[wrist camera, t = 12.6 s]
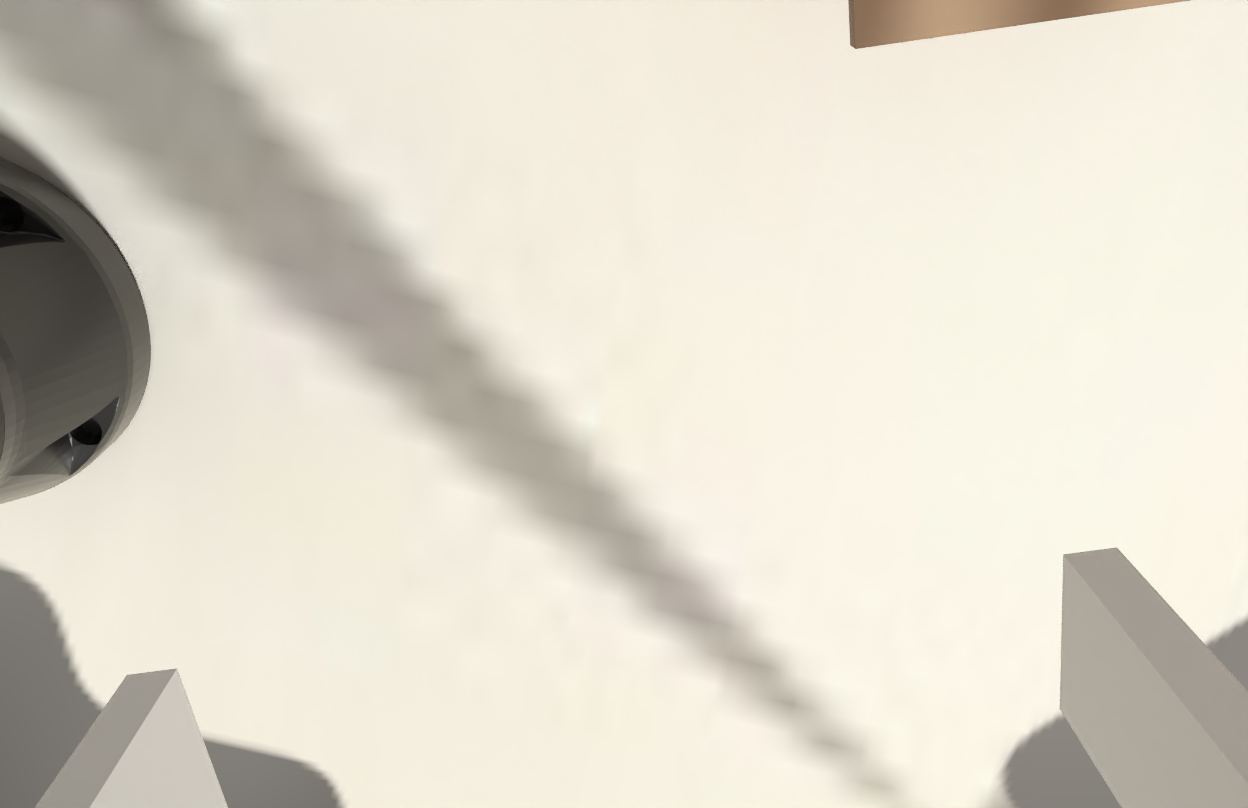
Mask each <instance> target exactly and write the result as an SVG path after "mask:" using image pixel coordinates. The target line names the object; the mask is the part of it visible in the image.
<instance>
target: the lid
mask: <svg viewBox="0 0 1248 808" xmlns="http://www.w3.org/2000/svg"><path fill="white" fill-rule="evenodd" d="M1182 1H1189V0H849V23H850V45H851V46H852V47H854V48H855V49H858V48H865V47H872V46H878V45H885V44H892V43H899V42H906V41H913V40H920V39H927V38H934V37H941V36H947V35H954V34H961V33H968V32H975V31H982V30H989V29H996V28H1003V27H1010V26H1016V25H1023V24H1030V23H1037V22H1044V21H1051V20H1058V19H1065V18H1072V17H1079V16H1085V15H1092V14H1099V13H1106V12H1113V11H1120V10H1127V9H1134V8H1141V7H1147V6H1154V5H1161V4H1168V3H1175V2H1182Z"/></svg>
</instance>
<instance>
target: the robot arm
mask: <svg viewBox="0 0 1248 808" xmlns="http://www.w3.org/2000/svg"><path fill="white" fill-rule="evenodd" d="M150 357H151V345H150V333H149V325H148V320H147V315H146V311H145V308H144V304H143V301H142V298H141V295H140V292H139V290H138V287H137V285H136V283H135V280H134V278H133V276H132V274H131V272H130V270H129V268H128V266H127V265H126V263H125V261H124V259H123V258H122V256H121V255H120V253H119V251H118V250H117V249H116V247H115V246H114V244H113V243H112V242H111V240H110V239H109V238H108V236H107V235H106V234H105V233H104V231H103V230H102V229H101V228H100V227H99V226H98V225H97V223H96V222H95V221H94V220H93V219H92V218H91V217H90V216H89V215H88V214H87V213H86V212H85V211H84V210H83V209H82V208H81V207H79V206H78V205H77V204H76V203H75V202H74V201H72V200H71V199H70V198H69V197H68V196H66V195H65V194H63V193H62V192H61V191H59V190H58V189H57V188H55V187H54V186H52V185H51V184H49V183H48V182H46V181H45V180H43V179H41V178H40V177H38V176H36V175H34V174H32V173H31V172H29V171H27V170H25V169H23V168H20V167H18V166H16V165H14V164H12V163H9V162H7V161H4V160H2V159H0V504H2V503H5V502H9V501H13V500H16V499H20V498H23V497H27V496H31V495H34V494H37V493H40V492H43V491H45V490H48V489H50V488H52V487H55V486H56V485H58V484H60V483H62V482H64V481H66V480H68V479H70V478H71V477H73V476H74V475H76V474H77V473H79V472H80V471H82V470H83V469H84V468H86V467H87V466H88V465H89V464H90V463H92V462H93V461H94V460H95V459H96V458H97V457H98V456H99V455H100V454H101V453H102V452H104V451H105V450H106V449H107V448H108V447H109V446H110V445H111V444H112V443H113V442H114V441H115V440H116V439H117V438H118V437H119V436H120V435H121V434H122V433H123V431H124V430H125V429H126V427H127V426H128V425H129V423H130V422H131V420H132V418H133V417H134V415H135V413H136V411H137V409H138V407H139V405H140V403H141V400H142V398H143V395H144V392H145V388H146V385H147V381H148V376H149V369H150ZM1060 710H1061V711H1062V713H1063V715H1064V716H1065V718H1066V719H1067V721H1068V722H1069V724H1070V726H1071V727H1072V729H1073V731H1074V732H1075V734H1076V735H1077V737H1078V738H1079V740H1080V742H1081V743H1082V745H1083V747H1084V748H1085V750H1086V751H1087V753H1088V754H1089V756H1090V757H1091V759H1092V761H1093V762H1094V764H1095V766H1096V767H1097V769H1098V770H1099V772H1100V774H1101V775H1102V776H1103V778H1104V780H1105V782H1106V783H1107V785H1108V786H1109V788H1110V789H1111V791H1112V793H1113V794H1114V796H1115V798H1116V799H1117V801H1118V802H1119V804H1120V805H1121V807H1122V808H1248V691H1246V689H1245V688H1244V687H1243V686H1242V685H1241V684H1240V683H1239V682H1238V680H1237V679H1236V678H1235V677H1234V676H1233V675H1232V674H1231V673H1230V672H1229V671H1228V670H1227V668H1226V667H1225V666H1224V665H1223V664H1222V663H1221V662H1220V661H1219V660H1218V658H1217V657H1216V656H1215V655H1214V654H1213V653H1212V652H1211V651H1210V650H1209V649H1208V647H1207V646H1206V645H1205V644H1204V643H1203V642H1202V641H1201V640H1200V639H1199V638H1198V636H1197V635H1196V634H1195V633H1194V632H1193V631H1192V630H1191V629H1190V628H1189V627H1188V625H1187V624H1186V623H1185V622H1184V621H1183V620H1182V619H1181V618H1180V617H1179V615H1178V614H1177V613H1176V612H1175V611H1174V610H1173V609H1172V608H1171V607H1170V606H1169V604H1168V603H1167V602H1166V601H1165V600H1164V599H1163V598H1162V597H1161V596H1160V595H1159V593H1158V592H1157V591H1156V590H1155V589H1154V588H1153V587H1152V586H1151V585H1150V584H1149V582H1148V581H1147V580H1146V579H1145V578H1144V577H1143V576H1142V575H1141V574H1140V573H1139V571H1138V570H1137V569H1136V568H1135V567H1134V566H1133V565H1132V564H1131V563H1130V562H1129V560H1128V559H1127V558H1126V557H1125V556H1124V555H1123V554H1122V553H1121V552H1120V551H1119V549H1118V548H1111V549H1103V550H1095V551H1087V552H1080V553H1072V554H1064V555H1063V594H1062V638H1061V682H1060ZM35 808H228V807H227V804H226V801H225V799H224V796H223V793H222V790H221V788H220V785H219V782H218V779H217V777H216V774H215V771H214V768H213V766H212V763H211V760H210V757H209V755H208V752H207V749H206V746H205V744H204V741H203V738H202V736H201V733H200V730H199V727H198V725H197V722H196V719H195V716H194V714H193V711H192V708H191V706H190V703H189V700H188V697H187V695H186V692H185V689H184V686H183V684H182V681H181V678H180V675H179V673H178V670H177V669H170V670H162V671H155V672H147V673H139V674H131V675H127V676H126V677H125V679H124V680H123V682H122V683H121V684H120V686H119V687H118V689H117V690H116V692H115V693H114V695H113V696H112V697H111V699H110V700H109V702H108V703H107V705H106V706H105V707H104V709H103V710H102V712H101V713H100V715H99V716H98V718H97V719H96V720H95V722H94V723H93V725H92V726H91V728H90V729H89V731H88V732H87V733H86V735H85V736H84V738H83V739H82V741H81V742H80V744H79V745H78V746H77V748H76V749H75V751H74V752H73V754H72V755H71V757H70V758H69V759H68V761H67V762H66V764H65V765H64V766H63V768H62V769H61V771H60V772H59V774H58V775H57V777H56V778H55V780H54V781H53V782H52V784H51V785H50V787H49V788H48V789H47V791H46V792H45V794H44V795H43V797H42V798H41V800H40V801H39V802H38V804H37V805H36V807H35Z"/></svg>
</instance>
